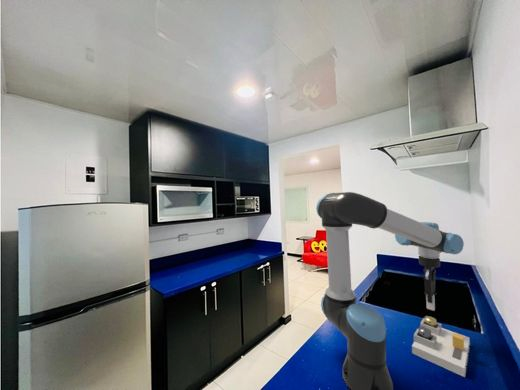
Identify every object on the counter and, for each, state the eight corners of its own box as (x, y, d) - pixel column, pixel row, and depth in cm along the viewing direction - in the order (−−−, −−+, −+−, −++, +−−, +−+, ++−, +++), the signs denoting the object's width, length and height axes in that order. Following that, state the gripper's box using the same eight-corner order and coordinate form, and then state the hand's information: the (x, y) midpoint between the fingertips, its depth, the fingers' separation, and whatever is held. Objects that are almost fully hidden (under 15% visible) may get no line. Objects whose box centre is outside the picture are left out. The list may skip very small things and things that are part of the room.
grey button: (430, 341, 82) (430, 334, 82) (417, 336, 85) (417, 329, 85) (432, 337, 85) (432, 329, 85) (420, 332, 88) (419, 325, 88)
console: (464, 377, 71) (464, 361, 71) (411, 353, 82) (411, 339, 83) (469, 344, 87) (469, 331, 87) (424, 328, 98) (424, 316, 98)
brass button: (435, 329, 90) (435, 322, 90) (424, 325, 93) (424, 318, 93) (437, 325, 93) (437, 318, 93) (426, 321, 96) (425, 315, 96)
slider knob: (463, 350, 79) (463, 339, 79) (452, 346, 81) (452, 336, 81) (464, 346, 81) (463, 336, 81) (453, 342, 83) (453, 332, 83)
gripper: (437, 261, 86) (439, 318, 86) (442, 255, 95) (443, 306, 94) (415, 257, 92) (416, 310, 91) (421, 252, 101) (423, 301, 100)
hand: (430, 308), depth 93 cm, fingers closed
